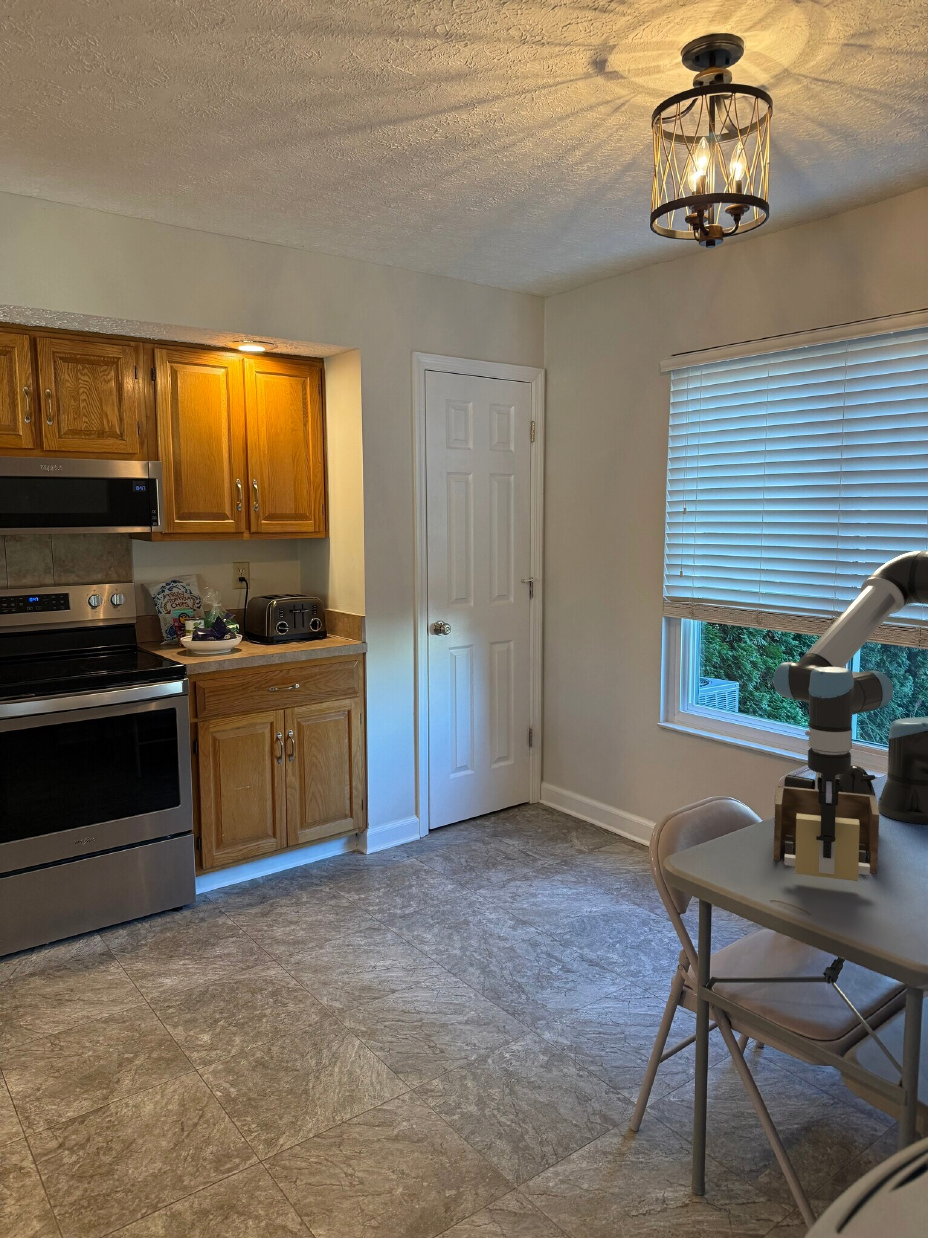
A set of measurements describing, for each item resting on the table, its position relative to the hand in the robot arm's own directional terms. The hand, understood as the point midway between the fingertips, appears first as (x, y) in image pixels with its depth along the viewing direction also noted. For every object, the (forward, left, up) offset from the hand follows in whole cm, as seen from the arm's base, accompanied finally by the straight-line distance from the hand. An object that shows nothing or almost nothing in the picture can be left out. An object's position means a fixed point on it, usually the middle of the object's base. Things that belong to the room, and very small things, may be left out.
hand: (826, 868), depth 165 cm
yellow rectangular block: (0, 0, -1) cm, 1 cm away
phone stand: (-17, -28, -4) cm, 33 cm away
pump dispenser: (-27, -22, -4) cm, 35 cm away
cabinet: (-11, -13, -4) cm, 17 cm away
